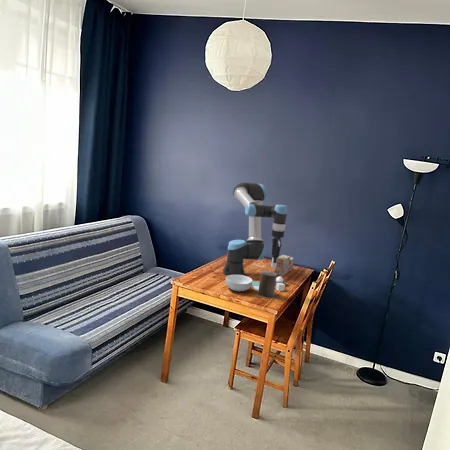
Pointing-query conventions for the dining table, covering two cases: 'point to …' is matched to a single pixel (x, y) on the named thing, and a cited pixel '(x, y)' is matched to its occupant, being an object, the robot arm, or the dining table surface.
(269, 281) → the pillar candle
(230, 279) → the cereal bowl
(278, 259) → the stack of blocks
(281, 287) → the die
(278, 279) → the dome
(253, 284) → the pad
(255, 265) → the dining table surface
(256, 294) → the ring
